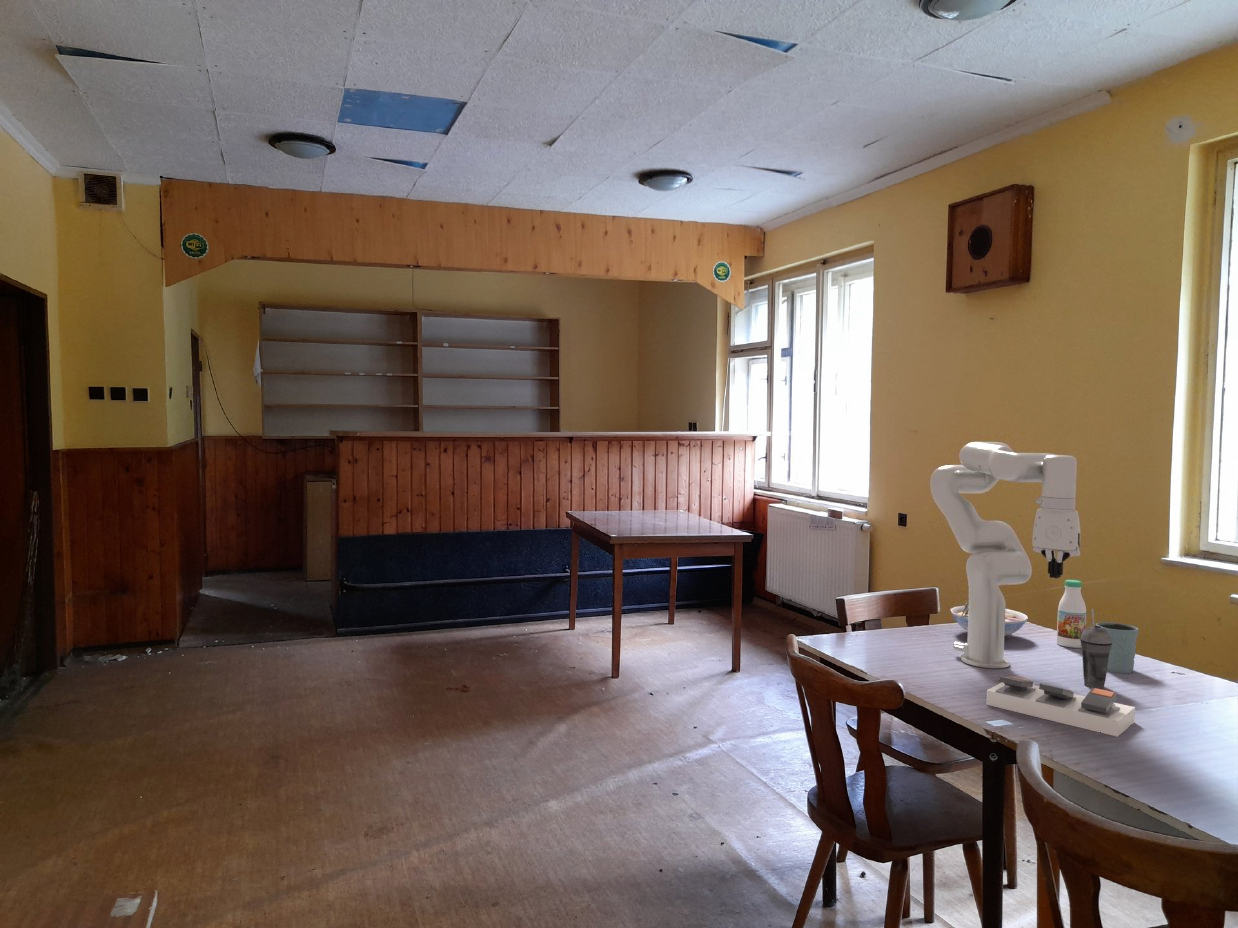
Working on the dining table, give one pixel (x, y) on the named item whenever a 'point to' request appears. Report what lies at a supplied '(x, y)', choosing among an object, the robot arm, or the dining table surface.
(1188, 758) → the dining table surface
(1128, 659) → the teal plant pot
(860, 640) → the dining table surface
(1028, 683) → the left rocker
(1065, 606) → the milk bottle
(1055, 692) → the middle rocker
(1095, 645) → the beverage cup
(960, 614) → the ramen bowl
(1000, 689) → the rocker switch panel
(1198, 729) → the dining table surface
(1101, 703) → the right rocker
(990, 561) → the robot arm
